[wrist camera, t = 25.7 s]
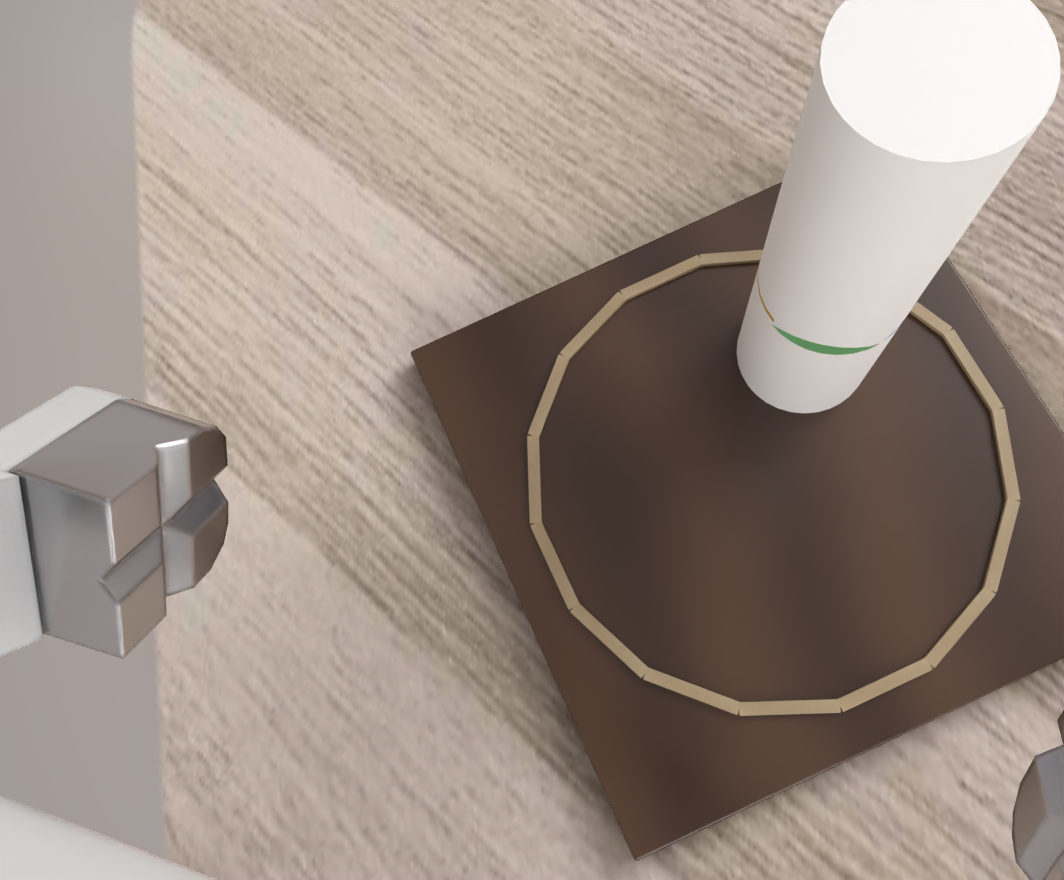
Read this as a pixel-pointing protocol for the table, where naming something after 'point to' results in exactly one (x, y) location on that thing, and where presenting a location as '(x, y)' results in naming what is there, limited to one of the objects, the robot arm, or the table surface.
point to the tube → (887, 181)
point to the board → (752, 523)
